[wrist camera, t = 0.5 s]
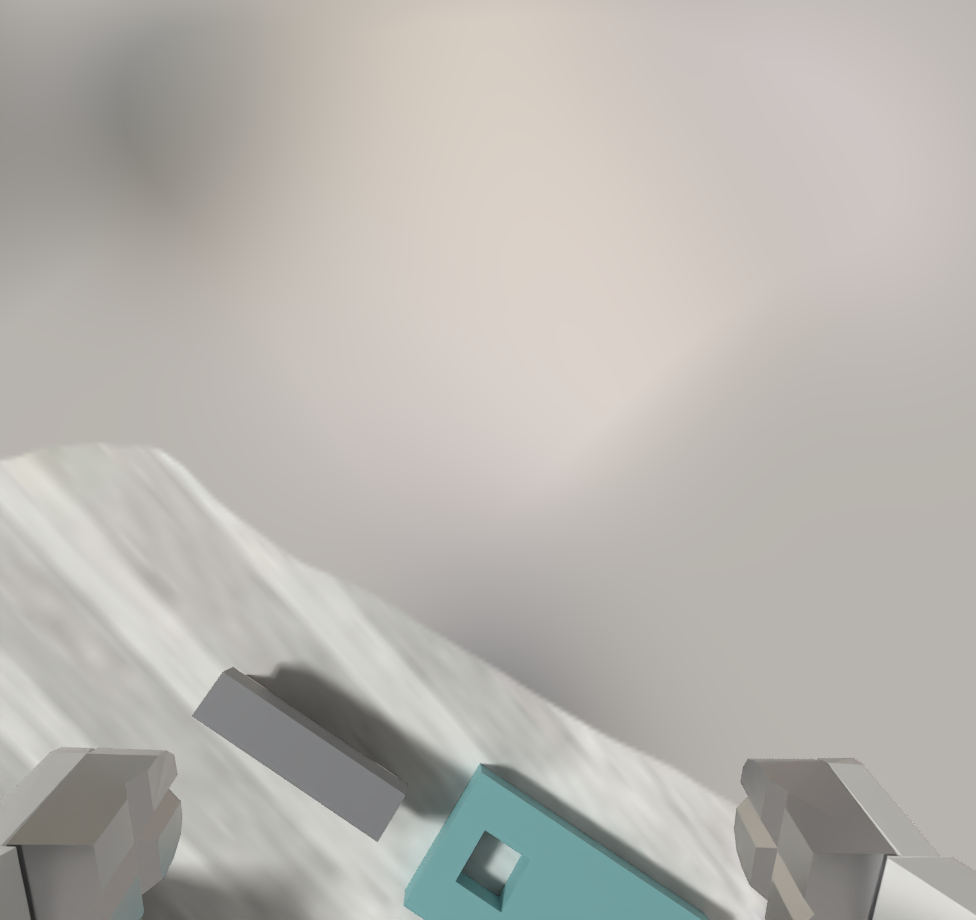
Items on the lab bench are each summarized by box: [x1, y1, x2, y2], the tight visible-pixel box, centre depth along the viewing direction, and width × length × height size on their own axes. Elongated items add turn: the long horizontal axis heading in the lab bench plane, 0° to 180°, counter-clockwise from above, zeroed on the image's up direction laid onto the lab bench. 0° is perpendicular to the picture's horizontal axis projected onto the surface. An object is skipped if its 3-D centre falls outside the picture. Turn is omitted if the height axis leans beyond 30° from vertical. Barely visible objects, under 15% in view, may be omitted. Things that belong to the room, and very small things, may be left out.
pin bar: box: [192, 667, 407, 842], centre depth 51 cm, size 18×4×6 cm, turn 57°
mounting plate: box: [404, 764, 709, 920], centre depth 52 cm, size 24×12×2 cm, turn 57°
